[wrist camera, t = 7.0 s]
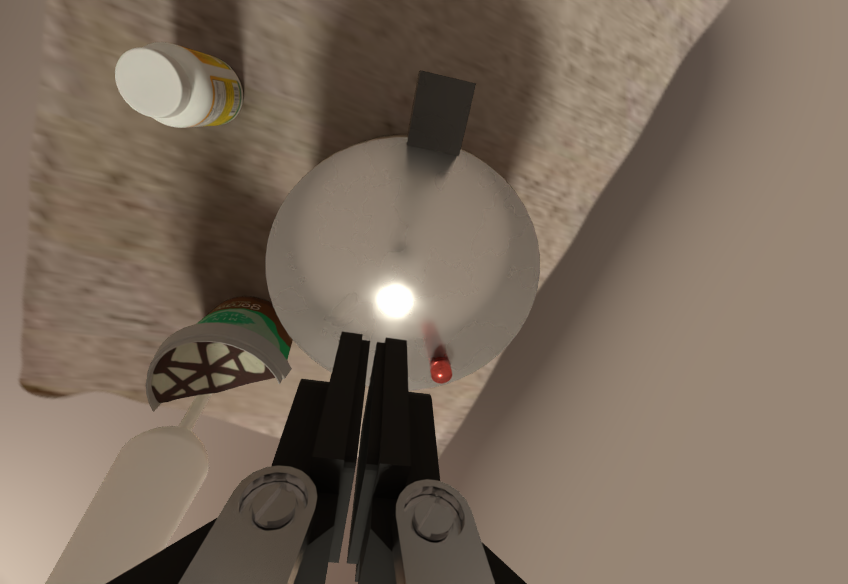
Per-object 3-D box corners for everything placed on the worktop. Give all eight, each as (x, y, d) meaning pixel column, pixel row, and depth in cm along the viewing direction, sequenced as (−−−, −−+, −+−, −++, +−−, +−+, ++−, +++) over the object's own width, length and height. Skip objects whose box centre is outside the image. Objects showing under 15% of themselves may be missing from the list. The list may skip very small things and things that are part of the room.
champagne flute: (178, 342, 44) (-20, 599, 22) (243, 334, 44) (106, 582, 23) (201, 391, 47) (46, 656, 26) (261, 384, 47) (156, 642, 26)
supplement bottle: (257, 108, 36) (211, 108, 27) (204, 135, 36) (142, 144, 28) (219, 42, 34) (156, 18, 25) (164, 72, 34) (83, 58, 25)
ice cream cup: (289, 273, 42) (258, 319, 33) (309, 326, 44) (286, 382, 35) (172, 300, 42) (109, 353, 33) (198, 350, 45) (147, 412, 36)
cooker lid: (282, 39, 24) (270, 34, 21) (592, 112, 26) (609, 114, 24) (264, 363, 33) (254, 382, 31) (494, 395, 35) (500, 414, 33)
